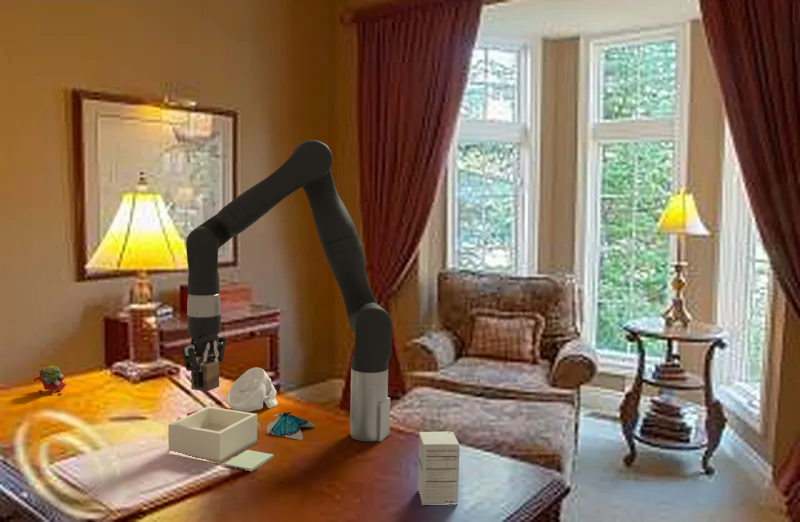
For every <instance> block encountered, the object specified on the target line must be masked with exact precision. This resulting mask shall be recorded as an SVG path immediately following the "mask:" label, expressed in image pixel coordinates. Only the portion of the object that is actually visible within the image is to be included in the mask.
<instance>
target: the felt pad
mask: <svg viewBox="0 0 800 522" xmlns="http://www.w3.org/2000/svg"><path fill="white" fill-rule="evenodd" d="M273 458H274V453H273V454H272V453H267V452H262V451H256V450H251V449H247V450H246V449H245V450H244V451H242V452H240V453H238V454H237V455H235V456H233V457H232V458H230V459H228V460H227V461H225V463H224V462H223V463H224V465H228V466H234V467H239V468H242V469H245V470H244V471H247V472H248V471H249V472H253V471H254V470H256V469H257V468H259V467H261V466H262V465H263V464H265V463H267V462H268V461H269V460H271V459H273ZM242 469H241V470H242Z"/></svg>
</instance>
